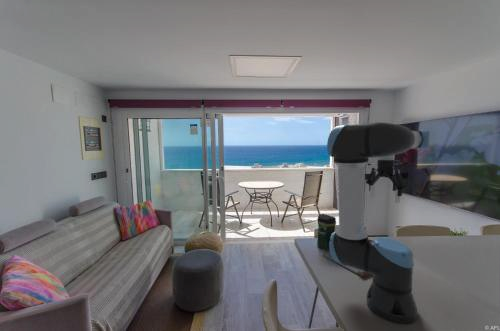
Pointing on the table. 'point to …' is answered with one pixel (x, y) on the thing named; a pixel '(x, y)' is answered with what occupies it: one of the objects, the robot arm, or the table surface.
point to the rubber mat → (340, 263)
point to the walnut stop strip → (362, 273)
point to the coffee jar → (325, 230)
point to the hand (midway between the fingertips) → (384, 199)
